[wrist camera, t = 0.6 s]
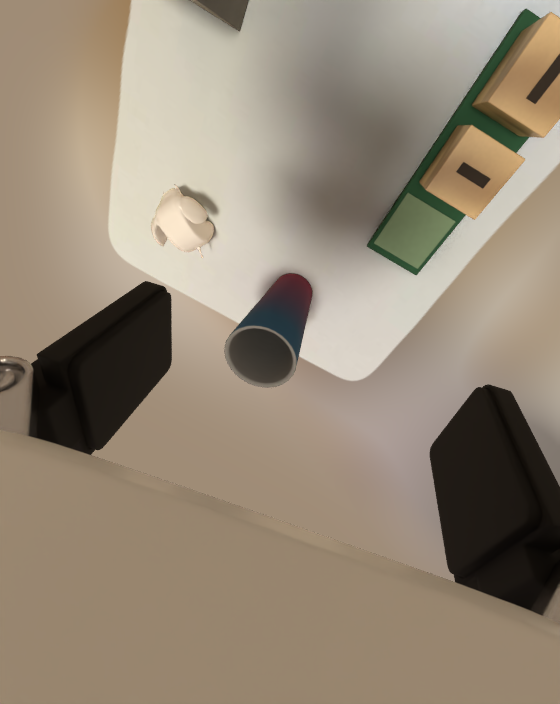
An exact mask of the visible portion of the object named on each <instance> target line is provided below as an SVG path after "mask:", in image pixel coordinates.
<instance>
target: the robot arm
mask: <svg viewBox="0 0 560 704" xmlns="http://www.w3.org/2000/svg"><path fill="white" fill-rule="evenodd" d="M171 343H172V342H171V295H170V293H168V292H167V290H166V288H165V287H164V286H161V285H157V284H154V283H151V282H147V281H145V282H143V283H141V284H140V285H138V286H137V287H135V288H134V289H133V290H131V291H129V292H128V293H127V294H125V295H124V296H122V297H121V298H119V299H118V300H116V301H115V302H113V303H112V304H110V305H109V306H108V307H106V308H104V309H103V310H102V311H100V312H98V313H97V314H95V315H94V316H93V317H91V318H90V319H88V320H87V321H85V322H84V323H82V324H81V325H79V326H78V327H76V328H75V329H73V330H72V331H70V332H69V333H68V334H66V335H65V336H63V337H62V338H60V339H59V340H57V341H56V342H54V343H53V344H51V345H50V346H48V347H47V348H45V349H44V350H43V351H41V352H39V353H38V354H37V357H38V359H37V360H36V361H34V362H33V363H32V364H30V363H29V362H28V361H27V360H24V359H22V358H19V357H12V356H0V704H560V487H559V485H558V483H557V481H556V479H555V477H554V475H553V473H552V471H551V469H550V467H549V465H548V463H547V461H546V459H545V457H544V455H543V453H542V451H541V449H540V447H539V445H538V443H537V441H536V439H535V437H534V435H533V433H532V432H531V429H530V427H529V426H528V423H527V422H526V419H525V418H524V416H523V414H522V412H521V410H520V408H519V406H518V404H517V402H516V400H515V398H514V396H513V394H512V393H511V391H508V390H505V389H502V388H498V387H495V386H492V385H485V386H483V387H482V388H481V387H478V388H476V389H475V390H474V391H473V392H472V394H471V395H470V396H469V398H468V399H467V400H466V402H465V403H464V404H463V405H462V407H461V408H460V409H459V410H458V412H457V413H456V414H455V416H454V417H453V418H452V419H451V421H450V422H449V423H448V425H447V426H446V427H445V428H444V430H443V431H442V432H441V434H440V435H439V436H438V438H437V439H436V440H435V441H434V443H433V444H432V446H431V449H430V460H431V467H432V473H433V479H434V485H435V492H436V498H437V504H438V510H439V516H440V522H441V529H442V535H443V540H444V547H445V553H446V560H447V565H448V569H449V571H450V572H451V573H452V574H454V578H455V582H453V581H450V580H448V579H444V578H442V577H439V576H436V575H433V574H431V573H428V572H425V571H422V570H419V569H417V568H414V567H411V566H408V565H405V564H403V563H399V562H397V561H394V560H391V559H388V558H385V557H383V556H380V555H377V554H374V553H372V552H369V551H366V550H363V549H360V548H358V547H354V546H352V545H349V544H346V543H343V542H341V541H338V540H335V539H332V538H329V537H326V536H323V535H320V534H318V533H315V532H312V531H309V530H306V529H303V528H300V527H298V526H295V525H292V524H289V523H286V522H284V521H281V520H278V519H275V518H272V517H269V516H266V515H264V514H261V513H258V512H255V511H252V510H249V509H246V508H243V507H241V506H238V505H235V504H232V503H229V502H226V501H224V500H220V499H218V498H215V497H212V496H209V495H206V494H203V493H200V492H197V491H195V490H192V489H189V488H186V487H183V486H180V485H177V484H174V483H171V482H168V481H166V480H162V479H160V478H157V477H154V476H151V475H148V474H145V473H142V472H139V471H136V470H133V469H131V468H128V467H125V466H122V465H119V464H116V463H113V462H110V461H107V460H104V459H101V458H98V457H95V456H92V455H91V454H92V453H93V452H94V451H95V449H96V450H100V449H102V448H103V447H104V446H105V445H106V444H107V442H108V441H109V440H110V439H111V438H112V436H113V435H114V434H115V433H116V432H117V430H118V429H119V428H120V427H121V426H122V424H123V423H124V422H125V421H126V420H127V419H128V417H129V416H130V415H131V414H132V413H133V411H134V410H135V409H136V408H137V407H138V406H139V404H140V403H141V402H142V401H143V399H144V398H145V397H146V396H147V395H148V394H149V392H150V391H151V390H152V389H153V388H154V387H155V386H156V384H157V383H158V382H159V381H160V379H161V378H162V377H163V376H164V375H165V374H166V373H167V371H168V370H169V368H170V365H171V360H172V348H171V347H172V346H171V345H172V344H171Z"/></svg>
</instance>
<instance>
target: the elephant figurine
mask: <svg viewBox="0 0 560 704" xmlns="http://www.w3.org/2000/svg"><path fill="white" fill-rule="evenodd" d="M174 185H175V184H174ZM175 186H176V185H175ZM176 187H177V186H176ZM207 216H208V214H207V212H206V210H205V209H204V208H203V207H202V206H201V205H200V204H199V203H198V202H197V201H196V200H194V199H193V198H191V197H188V196H185V197H184V196H183V195H182V193H181V191H180V189H179V188H178V187H177V188H176V189H175V188H172V189H170V190H169V191H167V192H166V193H165V194H164V191H163V197H162V199H161V201H160V204H159V205H158V207H157V209H156V215H155V217H154V218H153V220H152V223H151V230H152V234H153V236H154V238H155V240H156V241H157V243H158V244H160V245H161V246H164V244H165V242H166V240H167V238H168V239H169V240H170V241H171V243H172V244H173V245H174V246H176V247H177V248H178V249H180V250H181V251H184V252H191V251H194V250H196V249H198V251H199V252H200V254H201V246H203V245H205V244H206V243H208V242H209V241H210V239H211V238H212V235H213V231H214V227H213V225H212V223H211V222H209V221H206V219H207ZM201 258H203V256H202V254H201Z"/></svg>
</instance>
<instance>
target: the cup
mask: <svg viewBox="0 0 560 704" xmlns="http://www.w3.org/2000/svg"><path fill="white" fill-rule="evenodd" d="M311 298H312V289H311V286H310V284H309V282H308V281H307V280H306V279H305V278H303V277H302V276H300V275H297V274H286V275H283V276H281V277H280V278H279V279H278V280H277V281H276V282H275V283H274V284H273V286H272V287H271V288H270V289H269V290H268V291H267V293H266V294H265V295H264V296H263V297H262V298H261V299H260V301H259V302H258V303H257V304H256V305H255V306H254V308H253V309H252V310H251V311H250V312H249V313H248V315H247V316H246V317H245V318H244V319H243V320H242V322H241V323H240V324H239V325H238V326H237V327H236V329H235V330H234V331H233V332H232V333H231V334H230V336H229V337H228V339H227V340H226V344H225V351H224V352H225V358H226V361H227V363H228V365H229V367H230V368H231V370H232V371H233V372H234V373H235V374H236V375H237V376H238V377H239V378H241V379H242V380H244V381H246V382H247V383H249V384H252V385H254V386H258V387H267V388H268V387H276V386H280V385H282V384H284V383H285V382H287V381H288V380H289V379H290V378H291V377H292V376H293V374H294V372H295V370H296V365H297V361H298V356H299V352H300V348H301V343H302V339H303V334H304V330H305V325H306V321H307V316H308V312H309V307H310V303H311Z"/></svg>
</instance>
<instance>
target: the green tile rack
mask: <svg viewBox="0 0 560 704" xmlns="http://www.w3.org/2000/svg"><path fill="white" fill-rule="evenodd" d="M559 119H560V18H559V17H558V16H556V15H555V14H553V13H552V12H550V13H548V14H547V15H545V16H544V17H542V18H539V17H538V16H537V15H535V14H534V13H532V12H531V11H529V10H528V9H525V10H523V11H522V12H521V14H520V15H519V17H518V18H517V20H516V21H515V23H514V24H513V26H512V27H511V29H510V30H509V32H508V33H507V35H506V36H505V38H504V39H503V41H502V42H501V44H500V45H499V47H498V48H497V50H496V51H495V53H494V54H493V56H492V57H491V59H490V60H489V62H488V63H487V65H486V66H485V68H484V69H483V71H482V72H481V74H480V75H479V77H478V79H477V80H476V82H475V83H474V85H473V86H472V88H471V89H470V91H469V92H468V94H467V95H466V97H465V98H464V100H463V101H462V103H461V104H460V106H459V107H458V109H457V110H456V112H455V113H454V115H453V116H452V118H451V119H450V121H449V122H448V124H447V125H446V127H445V128H444V130H443V131H442V133H441V134H440V136H439V137H438V139H437V140H436V142H435V143H434V145H433V146H432V148H431V149H430V151H429V152H428V154H427V155H426V157H425V158H424V160H423V161H422V163H421V164H420V166H419V167H418V169H417V170H416V172H415V173H414V175H413V176H412V178H411V179H410V181H409V182H408V184H407V186H406V187H405V189H404V190H403V192H402V193H401V195H400V196H399V198H398V199H397V201H396V202H395V204H394V205H393V207H392V208H391V210H390V211H389V213H388V214H387V216H386V217H385V219H384V220H383V222H382V223H381V225H380V226H379V228H378V229H377V231H376V232H375V234H374V235H373V237H372V238H371V240H370V241H369V243H368V244H367V247H369V248H370V249H372V250H374V251H375V252H377V253H379V254H381V255H382V256H384V257H386V258H387V259H389V260H391V261H392V262H394V263H396V264H398V265H399V266H401V267H403V268H404V269H406V270H408V271H409V272H411V273H413V274H415V275H417V274H418V273H419V272H420V270H421V269H422V268H423V267H424V265H425V264H426V263H427V262H428V261H429V259H430V258H431V257H432V256H433V254H434V253H435V252H436V251H437V249H438V248H439V247H440V246H441V245H442V243H443V242H444V241H445V240H446V238H447V237H448V236H449V235H450V234H451V232H452V231H453V230H454V229H455V227H456V226H457V225H458V224H459V223H460V221H461V220H462V219H463V218H464V216H465V215H467V216H469V217H471V218H472V219H474V220H475V219H476V218H477V217H478V215H479V214H480V213H481V212H482V211H483V209H484V208H485V207H486V206H487V205H488V203H489V202H490V201H491V200H492V199H493V198H494V196H495V195H496V194H497V193H498V192H499V190H500V189H501V188H502V187H503V186H504V184H505V183H506V182H507V181H508V180H509V179H510V177H511V176H512V175H513V174H514V173H515V171H516V170H517V169H518V168H519V167H520V165H521V164H522V163H523V162H524V161H525V158H523V157H521V156H520V155H518V154H517V151H518V150H519V149H520V148H521V147H522V145H523V144H524V143H525V142H526V140H527V139H528V138H529V137H541V138H544V137H545V136H546V135H547V133H548V132H549V131H550V130H551V129H552V127H553V126H554V125H555V124H556V123H557V122H558V120H559Z"/></svg>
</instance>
